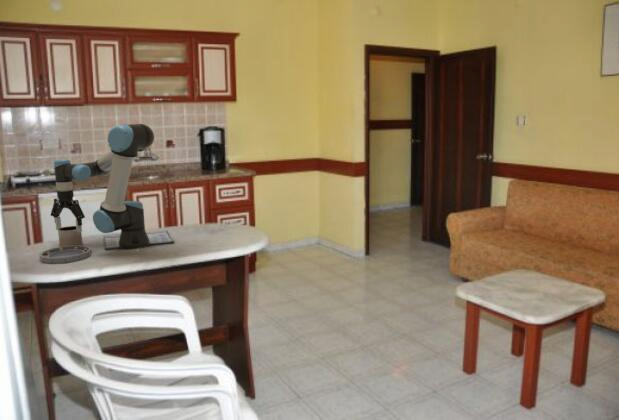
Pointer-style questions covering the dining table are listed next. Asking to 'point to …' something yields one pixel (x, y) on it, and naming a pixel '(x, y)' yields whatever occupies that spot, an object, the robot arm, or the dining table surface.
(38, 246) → the dining table surface
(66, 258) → the tray
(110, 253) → the dining table surface
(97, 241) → the dining table surface
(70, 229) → the planter
